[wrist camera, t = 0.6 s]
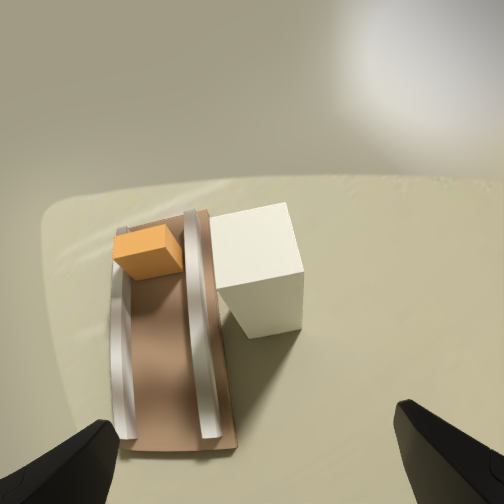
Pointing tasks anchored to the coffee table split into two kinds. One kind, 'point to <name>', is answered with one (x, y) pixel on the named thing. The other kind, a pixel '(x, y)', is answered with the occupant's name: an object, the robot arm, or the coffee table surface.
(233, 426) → the rail board
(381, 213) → the coffee table surface
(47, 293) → the coffee table surface
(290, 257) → the block
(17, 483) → the robot arm
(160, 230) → the block
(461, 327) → the coffee table surface
